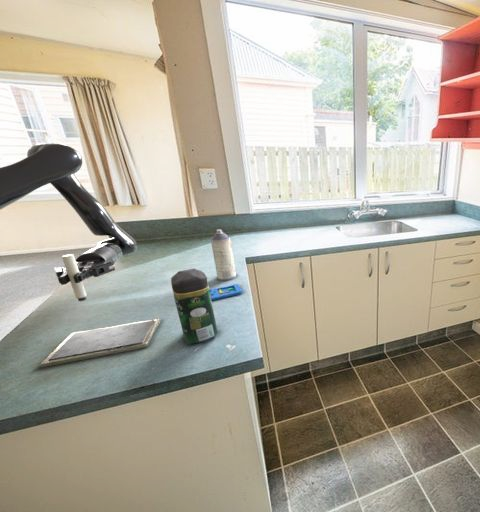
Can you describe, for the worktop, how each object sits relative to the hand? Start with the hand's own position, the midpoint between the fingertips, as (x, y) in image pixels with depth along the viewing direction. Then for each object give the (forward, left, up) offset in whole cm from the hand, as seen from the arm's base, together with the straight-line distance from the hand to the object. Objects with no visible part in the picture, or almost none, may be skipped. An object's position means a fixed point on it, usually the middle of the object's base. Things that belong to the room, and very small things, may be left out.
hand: (69, 280), depth 77 cm
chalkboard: (+7, -7, -16) cm, 19 cm away
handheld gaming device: (+31, +14, -16) cm, 37 cm away
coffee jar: (+29, -13, -16) cm, 36 cm away
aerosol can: (+33, +31, -16) cm, 48 cm away
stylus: (0, +3, -7) cm, 8 cm away
